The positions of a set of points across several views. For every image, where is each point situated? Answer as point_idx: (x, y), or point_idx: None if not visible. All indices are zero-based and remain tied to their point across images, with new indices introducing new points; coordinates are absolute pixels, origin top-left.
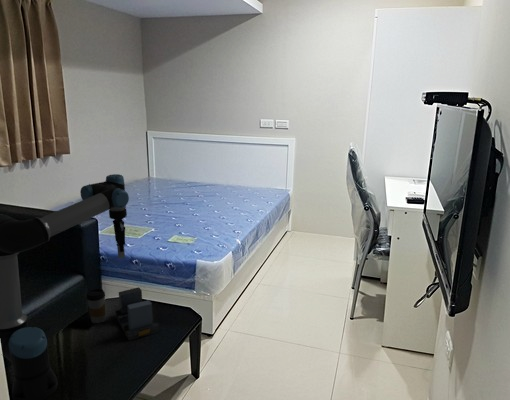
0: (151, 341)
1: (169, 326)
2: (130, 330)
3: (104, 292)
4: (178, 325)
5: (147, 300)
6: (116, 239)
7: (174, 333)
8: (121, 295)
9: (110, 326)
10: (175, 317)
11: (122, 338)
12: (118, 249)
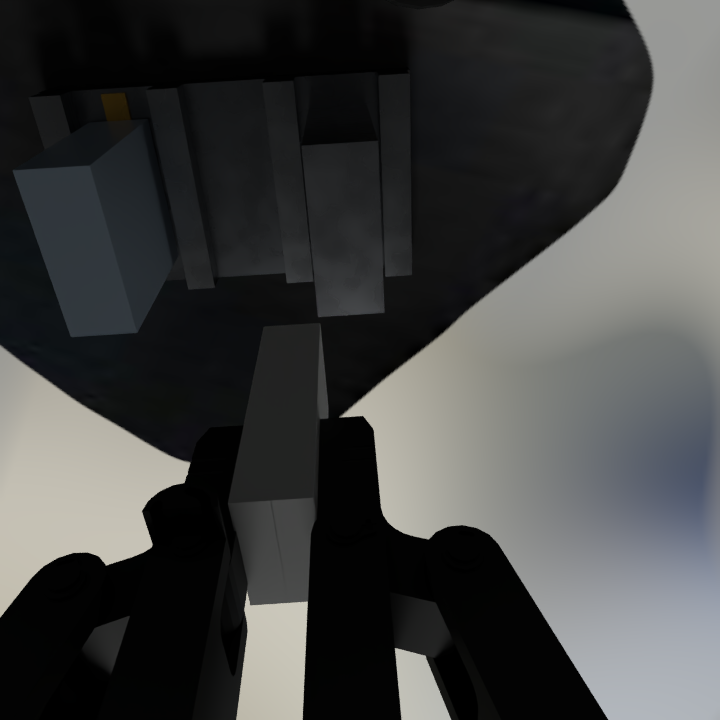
0: (11, 216)
1: (142, 337)
2: (97, 124)
3: (421, 5)
4: (137, 376)
5: (134, 321)
6: (387, 597)
7: (64, 341)
8: (302, 153)
9: (271, 5)
10: (223, 384)
11: (89, 57)
12: (242, 435)
